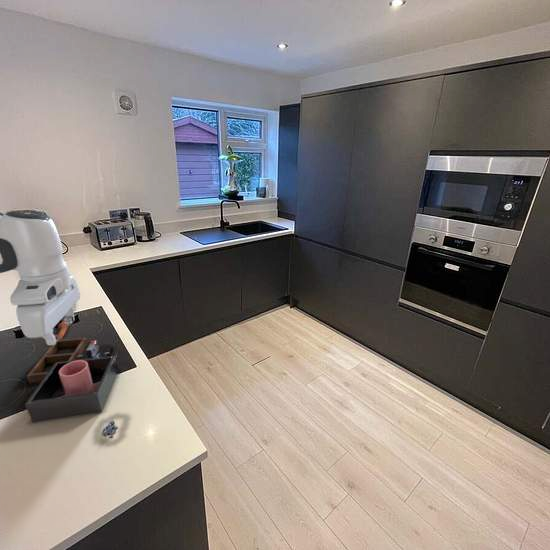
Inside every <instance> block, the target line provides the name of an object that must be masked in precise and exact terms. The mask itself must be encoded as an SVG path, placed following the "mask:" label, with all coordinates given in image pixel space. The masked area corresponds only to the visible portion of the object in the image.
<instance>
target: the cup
mask: <svg viewBox="0 0 550 550" xmlns="http://www.w3.org/2000/svg"><path fill="white" fill-rule="evenodd" d="M59 376H60V379H61V386H62V388H63V391H64V395H65V397H66V396H74V395H81V394H89V393H95V392H96V390H95V385H94V382H93V378H92V377H93V376H91V373H90V370H89V366H88V362H86V361H83V360H78V361H73V362H70V363H68V364H66V365H64V366H63V367H62V368H61V369H60V370H59Z"/></svg>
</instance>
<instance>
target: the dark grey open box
mask: <svg viewBox="0 0 550 550" xmlns="http://www.w3.org/2000/svg"><path fill="white" fill-rule="evenodd" d="M81 360H83V361H86V362H88V366H89V370H90V373H91V377H98V376H102V377H101V379H100V381H99V383H98V385H97V388H96V390H95V391H94V393H89V394H81V395H74V396H66V395H65V396H60V397H59V396H58V397H53V396H54V395H55V393H56V391H57V390H58V388H59V387H60V385H62V382H61V379H60V376H59V370H60V369H61V368H62V367H63V366H64V365H66V364H68V363H70V362H73V361H78V360H72V361H63V362H56V363H54V364H53V365H52V367H51V368H50V369H49V371H47V372H48V374H47V375H46V376H45V378H44V379H43V381H42V382H39V384H38V386H37V387H36V388H35V390H34V392H32V394H31V395H30V397H29V398H28V400H27V401H26V402H25V407H26V410H27V413H28V415H29V418H30V420H31V423H38V422H44V421H52V420H59V419H66V418H72V417H73V418H74V417H78V416H85V415H93V414H100V413H103V411H104V409H105V406H106V404H107V401H108V399H109V396H110V394H111V392H112V389H113V387H114V384H115V381H116V379H117V377H118V374H119V368H118V363H117V358H116V355H110V356H109V357H99V358H90V359H81Z"/></svg>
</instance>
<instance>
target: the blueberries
mask: <svg viewBox="0 0 550 550" xmlns="http://www.w3.org/2000/svg"><path fill="white" fill-rule="evenodd" d="M118 429H119V427H118V426H117V425H115V421H114V420H111V421H110V422H108V423H107V424H106V426H105V427H104V428H102V435H103V437H108V436H109V438H108V439H113V438H114V435H115V434H116V433H117V430H118Z"/></svg>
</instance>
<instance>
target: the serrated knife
mask: <svg viewBox="0 0 550 550" xmlns="http://www.w3.org/2000/svg"><path fill="white" fill-rule="evenodd" d="M69 326H70V324H65V321H64V320H63V321H62V322H60V323H58V324H57V328H58V330H57V332H56V335H57V337H58V340H63V337H64V335H65V334H66V332H67V329H68V328H69Z"/></svg>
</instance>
